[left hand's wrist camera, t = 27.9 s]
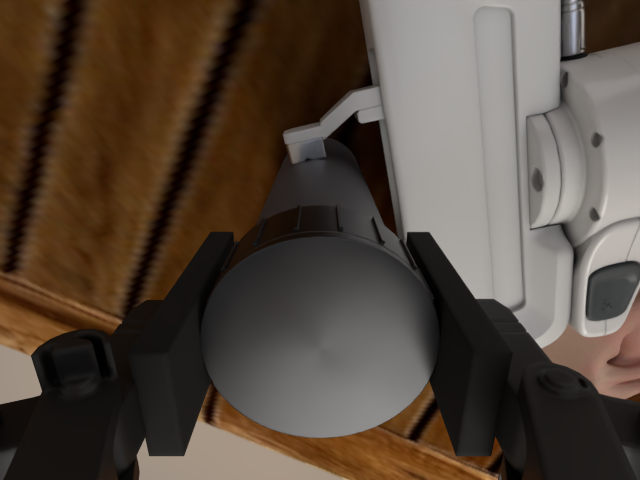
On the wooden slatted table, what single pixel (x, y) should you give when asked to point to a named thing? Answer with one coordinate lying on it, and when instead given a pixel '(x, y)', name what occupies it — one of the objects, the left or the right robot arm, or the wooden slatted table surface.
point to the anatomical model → (604, 356)
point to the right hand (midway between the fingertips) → (303, 212)
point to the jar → (321, 184)
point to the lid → (320, 324)
